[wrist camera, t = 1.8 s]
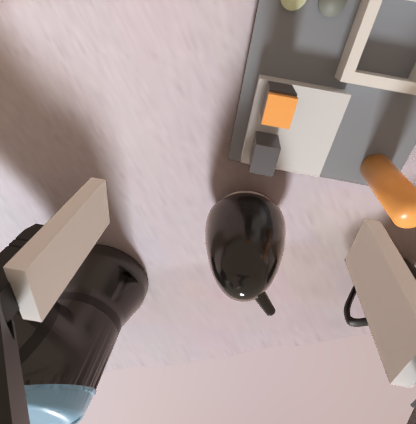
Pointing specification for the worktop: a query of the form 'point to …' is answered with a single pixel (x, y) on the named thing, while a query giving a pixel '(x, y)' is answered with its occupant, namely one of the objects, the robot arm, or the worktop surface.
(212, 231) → the black domed piece
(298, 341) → the worktop surface
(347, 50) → the panel board
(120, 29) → the worktop surface
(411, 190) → the pin
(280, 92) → the block
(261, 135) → the block
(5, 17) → the worktop surface
